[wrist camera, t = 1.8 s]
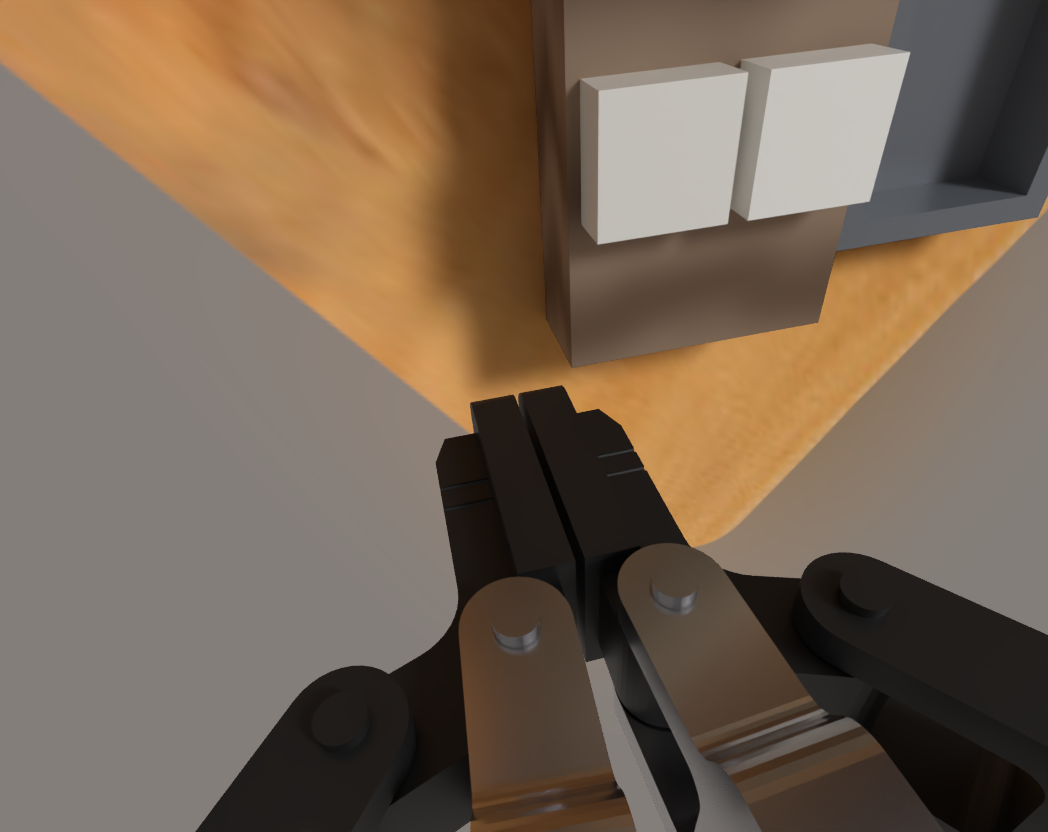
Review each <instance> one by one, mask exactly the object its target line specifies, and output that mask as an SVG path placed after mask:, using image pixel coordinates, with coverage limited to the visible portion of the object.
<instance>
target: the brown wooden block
mask: <svg viewBox="0 0 1048 832" xmlns="http://www.w3.org/2000/svg"><path fill="white" fill-rule="evenodd" d="M899 1H900V0H531V13H532V33H533V53H534V74H535V94H536V114H537V135H538V155H539V175H540V195H541V216H542V236H543V256H544V277H545V297H546V317H547V321H548V323H549V325H550V327H551V329H552V331H553V333H554V335H555V337H556V338H557V340H558V342H559V344H560V346H561V348H562V350H563V352H564V354H565V356H566V358H567V360H568V361H569V363H570V365H571V367H572V368H574V367H579V366H585V365H590V364H596V363H601V362H607V361H612V360H617V359H623V358H628V357H634V356H639V355H645V354H650V353H655V352H661V351H666V350H672V349H677V348H683V347H688V346H693V345H699V344H704V343H710V342H715V341H720V340H726V339H731V338H737V337H742V336H748V335H753V334H758V333H764V332H769V331H775V330H780V329H786V328H791V327H796V326H802V325H807V324H813V323H818V321H819V317H820V313H821V309H822V305H823V301H824V297H825V293H826V289H827V285H828V281H829V277H830V273H831V270H832V266H833V262H834V258H835V254H836V250H837V246H838V242H839V238H840V234H841V230H842V226H843V222H844V218H845V214H846V210H847V206H848V205H845V206H838V207H832V208H826V209H819V210H813V211H807V212H801V213H794V214H788V215H782V216H775V217H769V218H763V219H756V220H750V221H747V220H746V219H745V218H743V217H742V216H740V215H739V214H738V213H736V212H735V211H734V210H732V209H731V208H730V211H729V218H728V224H725V225H718V226H712V227H706V228H699V229H693V230H687V231H680V232H674V233H668V234H661V235H655V236H649V237H643V238H636V239H630V240H624V241H617V242H611V243H605V244H597V243H596V242H595V241H594V239H593V238H592V237H591V236H590V235H589V233H588V232H587V231H586V230H585V228H584V227H583V226H582V225H581V140H580V79H583V78H591V77H600V76H608V75H616V74H624V73H633V72H641V71H649V70H657V69H666V68H674V67H682V66H690V65H699V64H707V63H715V62H721V63H724V64H727V65H730V66H733V67H735V68H738V69H740V66H741V59H748V58H756V57H765V56H773V55H781V54H789V53H798V52H806V51H814V50H822V49H831V48H839V47H847V46H855V45H864V44H876V45H881V46H885V47H888V45H889V41H890V37H891V33H892V29H893V25H894V21H895V17H896V13H897V9H898V5H899Z"/></svg>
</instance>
